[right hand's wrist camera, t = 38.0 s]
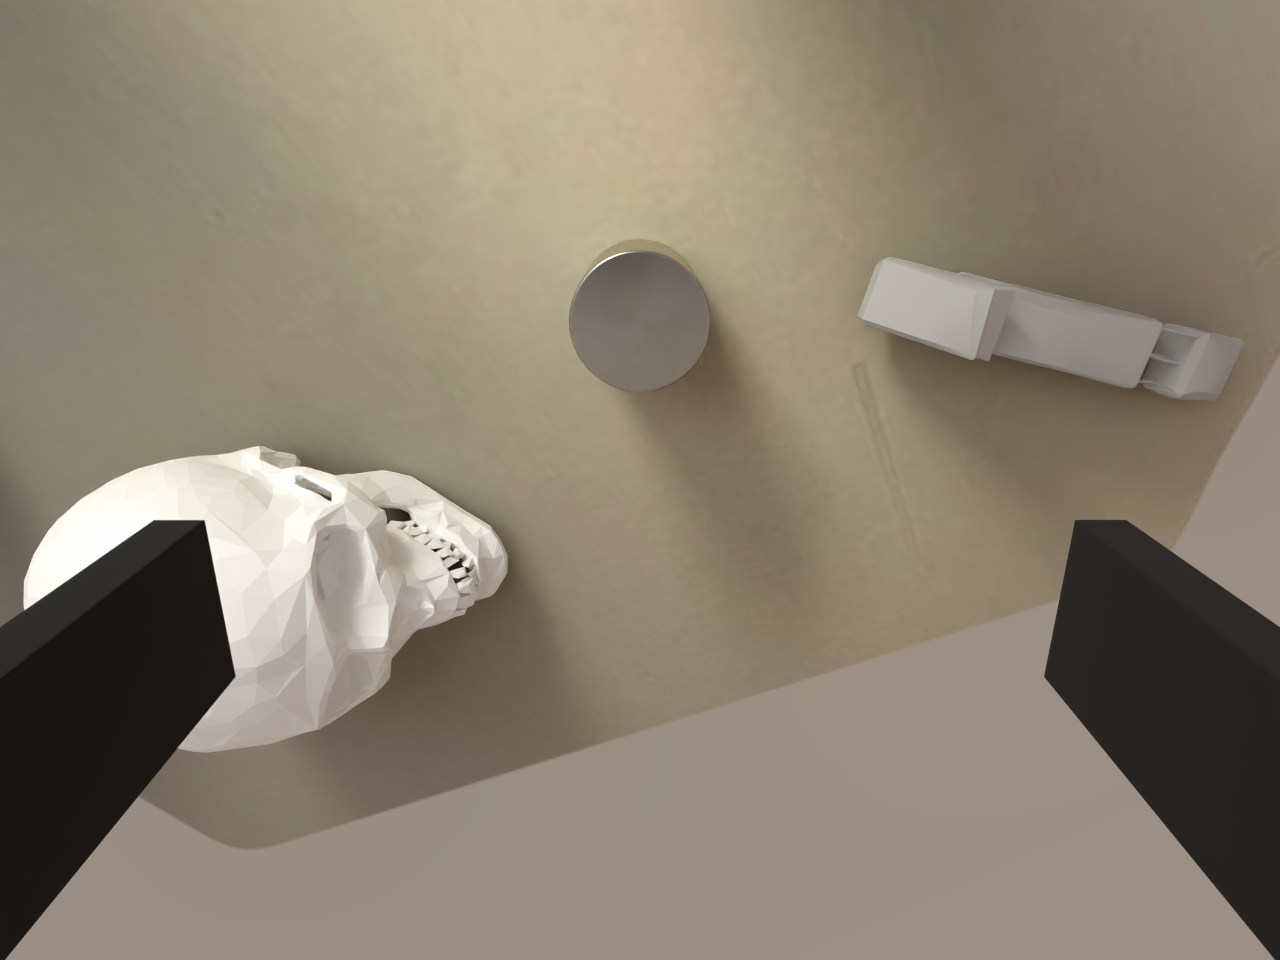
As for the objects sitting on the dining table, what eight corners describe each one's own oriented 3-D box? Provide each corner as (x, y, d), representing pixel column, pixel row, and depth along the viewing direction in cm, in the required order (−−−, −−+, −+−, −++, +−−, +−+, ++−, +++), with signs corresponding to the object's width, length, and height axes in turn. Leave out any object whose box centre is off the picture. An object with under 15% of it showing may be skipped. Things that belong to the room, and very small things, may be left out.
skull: (518, 637, 51) (467, 815, 36) (167, 633, 51) (-31, 808, 36) (511, 432, 47) (450, 535, 32) (129, 426, 47) (-113, 527, 32)
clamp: (847, 320, 44) (896, 348, 38) (869, 249, 43) (923, 266, 36) (1169, 389, 47) (1263, 425, 41) (1198, 325, 46) (1300, 353, 40)
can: (581, 236, 43) (570, 246, 37) (704, 243, 43) (716, 254, 37) (577, 358, 45) (567, 388, 39) (694, 364, 46) (704, 395, 39)
